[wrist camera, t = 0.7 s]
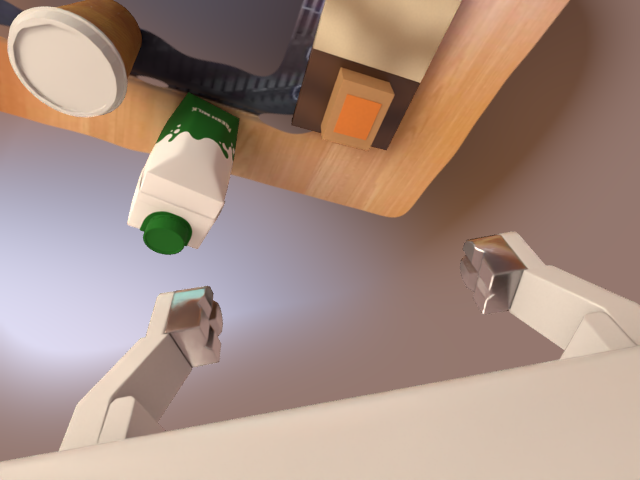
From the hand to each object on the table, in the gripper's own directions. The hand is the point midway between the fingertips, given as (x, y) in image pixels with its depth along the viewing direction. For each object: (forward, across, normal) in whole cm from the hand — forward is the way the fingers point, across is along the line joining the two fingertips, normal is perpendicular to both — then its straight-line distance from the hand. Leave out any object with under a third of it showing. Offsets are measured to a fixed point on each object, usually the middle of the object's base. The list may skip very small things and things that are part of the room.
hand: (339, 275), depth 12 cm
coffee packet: (+38, -8, +10) cm, 40 cm away
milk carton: (+42, +12, +10) cm, 45 cm away
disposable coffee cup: (+41, +19, -2) cm, 45 cm away
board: (+39, -10, +5) cm, 40 cm away
